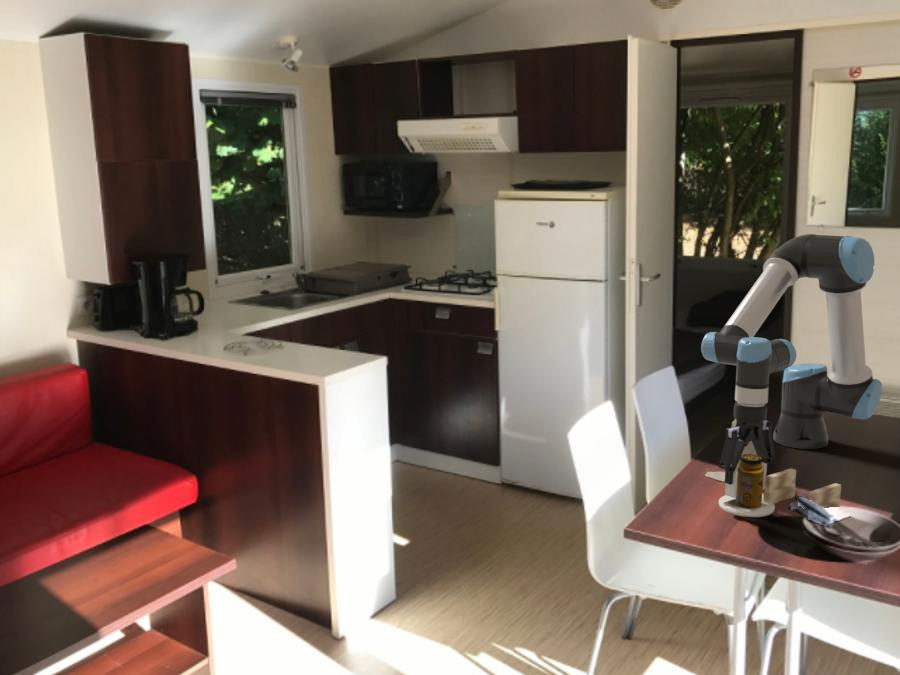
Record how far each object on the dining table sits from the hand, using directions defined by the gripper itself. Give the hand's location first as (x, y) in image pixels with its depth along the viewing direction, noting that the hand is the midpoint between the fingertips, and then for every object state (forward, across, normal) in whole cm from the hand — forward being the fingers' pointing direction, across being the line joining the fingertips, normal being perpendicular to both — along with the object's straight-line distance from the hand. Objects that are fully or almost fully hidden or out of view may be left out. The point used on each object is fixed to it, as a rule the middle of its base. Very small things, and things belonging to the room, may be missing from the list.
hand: (745, 491), depth 222 cm
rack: (+4, -11, +8) cm, 14 cm away
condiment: (+3, 0, 0) cm, 3 cm away
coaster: (+4, -1, 0) cm, 4 cm away
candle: (+4, -13, -15) cm, 20 cm away
